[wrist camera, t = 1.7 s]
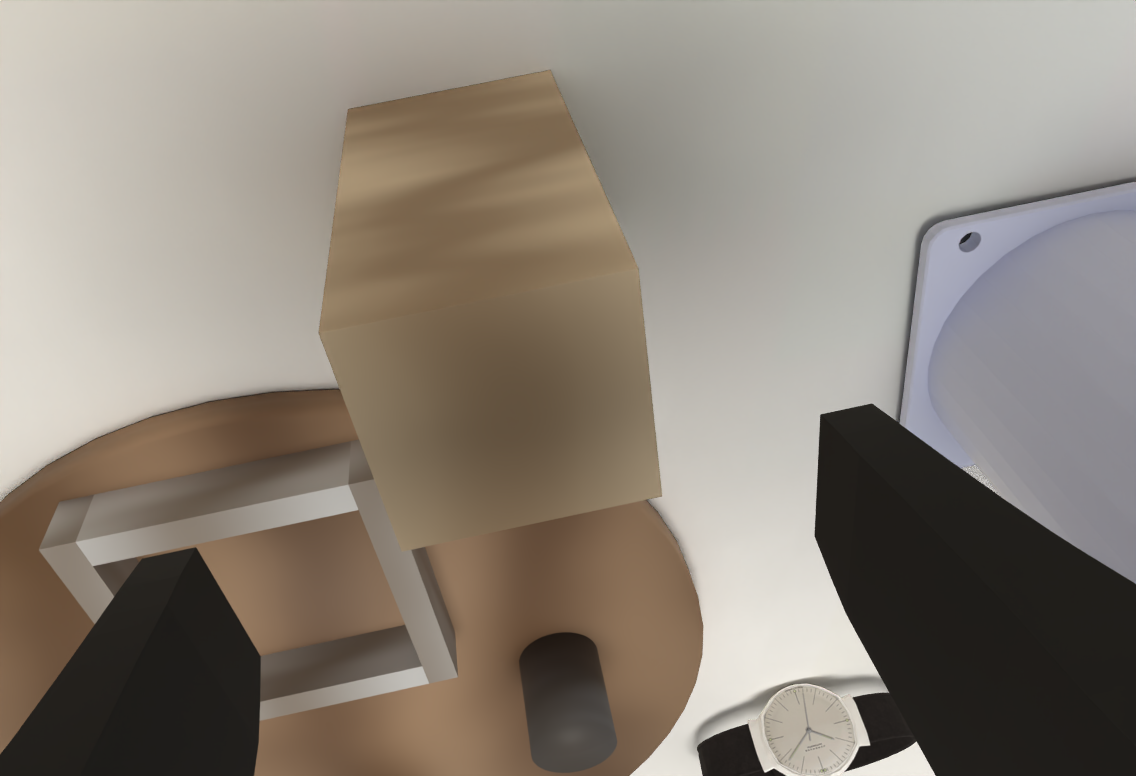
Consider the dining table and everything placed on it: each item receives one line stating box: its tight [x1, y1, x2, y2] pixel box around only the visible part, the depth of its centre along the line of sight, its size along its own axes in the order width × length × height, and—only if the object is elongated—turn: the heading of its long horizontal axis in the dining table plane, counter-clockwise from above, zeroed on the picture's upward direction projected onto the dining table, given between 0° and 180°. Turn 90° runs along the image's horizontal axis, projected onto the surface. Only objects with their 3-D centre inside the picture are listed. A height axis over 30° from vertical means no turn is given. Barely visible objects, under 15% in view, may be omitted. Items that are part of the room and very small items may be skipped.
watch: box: [697, 684, 916, 776], centre depth 31 cm, size 8×5×4 cm, turn 101°
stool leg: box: [319, 70, 662, 552], centre depth 15 cm, size 4×4×8 cm
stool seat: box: [0, 389, 703, 776], centre depth 26 cm, size 22×22×4 cm
